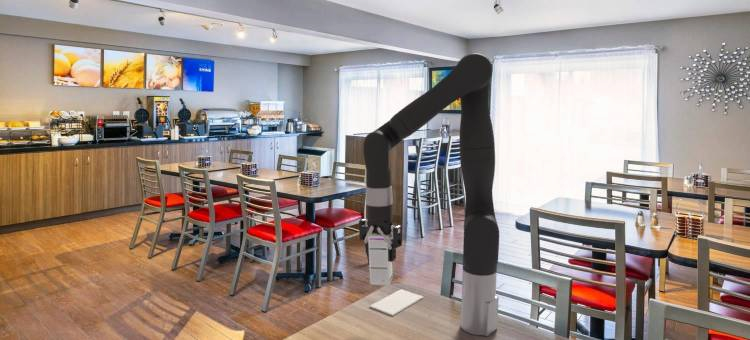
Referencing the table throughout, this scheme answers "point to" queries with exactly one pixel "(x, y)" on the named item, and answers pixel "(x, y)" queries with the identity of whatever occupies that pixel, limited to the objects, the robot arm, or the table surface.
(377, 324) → the table surface
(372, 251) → the syrup box
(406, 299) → the mat
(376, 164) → the robot arm
